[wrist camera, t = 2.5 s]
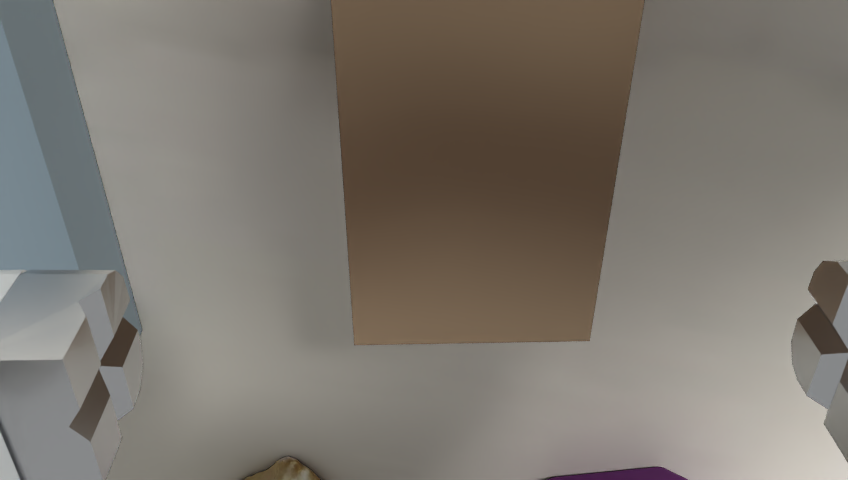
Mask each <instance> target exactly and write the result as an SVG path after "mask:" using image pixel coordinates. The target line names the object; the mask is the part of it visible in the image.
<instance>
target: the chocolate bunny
mask: <svg viewBox="0 0 848 480" xmlns="http://www.w3.org/2000/svg"><path fill="white" fill-rule="evenodd" d="M244 480H321V479H319V478H318V477H317V476H316V475H315V473H314V472H313V471H311V470H310V469H309V468H308V467H306V466H304V465H302V464H301V463H300V462H299V460H297V459H295V458H292V457H289V456H288V457H284V458H282V459H279V460H278V461H277V462H276V463H275V464H274V465H272V466H271V467H270V468H269V469H267V470H265V471H263V472H258V473H256V474H255V475H253V476H249V477H247V478H245V479H244Z"/></svg>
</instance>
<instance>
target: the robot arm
mask: <svg viewBox="0 0 848 480" xmlns="http://www.w3.org/2000/svg"><path fill="white" fill-rule="evenodd" d="M808 291H809V293H810V295H811V296H812V298H813V300H814V302H815V305H814V306H812V307H811V308H810V309H809V310H808V311H806V312H805V313H804V314H803V315H802V316H801V317H799V318H798V319H797V323H796V326H795V330H794V333H793V337H792V340H791V349H792V365H793V368H794V371H795V374H796V377H797V380H798V382H799V384H800V385H801V387H802V389H803V390H804V392H805V394H806V395H807V396H808V397H810V398H811V399H813V400H814V401H816V402H817V403H819V404H821V405H822V406H824V407H825V408H827V409H828V411H827V414H826V418H825V421H824V425H825V427H826V428H827V430H828V432H829V433H830V435H831V436H832V438H833V440H834V441H835V443H836V444H837V446H838V448H839V449H840V451H841V452H842V454H843V456H844V457H845V459H846V461H847V462H848V260H839V261H823V262H822V263H821V264H820V265H819V266H818V268H817V269H816V270H815V271H814V273H813V276H812V279H811V282H810V284H809V287H808ZM129 302H130V297H129V294H128V291H127V287H126V284H125V280H124V277H123V276H122V275H121V274H120V273H118V272H117V271H116V270H28V271H27V270H0V480H106V479H107V476H108V473H109V471H110V468H111V466H112V463H113V461H114V458H115V455H116V453H117V450H118V448H119V445H120V443H121V440H122V435H121V431H120V428H119V424H118V420H119V419H121V418H122V417H123V416H124V415H126V414H127V413H128V412H130V411H131V410H132V409H133V408H134V406H135V403H136V400H137V397H138V395H139V392H140V388H141V380H142V372H143V355H142V345H141V341H140V337H139V332H138V330H137V329H136V328H135V327H134V326H133V325H132V324H130V323H129V322H128V321H127V320H126V319H125V318H124V317H123V315H124V313H125V311H126V308H127V306H128V304H129Z"/></svg>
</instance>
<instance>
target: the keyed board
mask: <svg viewBox="0 0 848 480" xmlns="http://www.w3.org/2000/svg"><path fill="white" fill-rule="evenodd" d="M0 270H27V271H28V270H116V271H117V272H118V273H120V274H121V275H122V276H123V277H124V280H125V284H126V287H127V291H128V294H129V297H130V302H129V304H128V306H127V308H126V311H125V313H124V315H123V317H124V318H125V319H126V320H127V321H128V322H129V323H130V324H132V325H133V326H134V327H135V328H136V329H137V330H138V332H139V337H140V334H141V332H142V327H141V324H140V320H139V316H138V313H137V309H136V305H135V302H134V298H133V294H132V291H131V287H130V283H129V280H128V276H127V272H126V269H125V265H124V261H123V258H122V254H121V250H120V247H119V243H118V239H117V236H116V232H115V228H114V224H113V221H112V217H111V213H110V210H109V206H108V202H107V199H106V195H105V191H104V188H103V184H102V180H101V177H100V173H99V169H98V166H97V162H96V158H95V155H94V151H93V147H92V144H91V140H90V136H89V133H88V129H87V125H86V121H85V118H84V114H83V110H82V107H81V103H80V99H79V96H78V92H77V88H76V85H75V81H74V77H73V74H72V70H71V66H70V63H69V59H68V55H67V52H66V48H65V44H64V41H63V37H62V33H61V30H60V26H59V22H58V18H57V15H56V11H55V7H54V4H53V0H0Z"/></svg>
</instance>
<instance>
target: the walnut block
mask: <svg viewBox="0 0 848 480" xmlns="http://www.w3.org/2000/svg"><path fill="white" fill-rule="evenodd" d="M644 1H645V0H331V10H332V25H333V39H334V54H335V69H336V83H337V98H338V113H339V127H340V142H341V157H342V172H343V186H344V201H345V216H346V230H347V245H348V260H349V274H350V289H351V304H352V318H353V333H354V345H388V344H445V343H503V342H561V341H590V335H591V329H592V323H593V316H594V310H595V304H596V298H597V292H598V285H599V279H600V273H601V267H602V261H603V255H604V248H605V242H606V236H607V230H608V224H609V217H610V211H611V205H612V199H613V193H614V187H615V180H616V174H617V168H618V162H619V156H620V149H621V143H622V137H623V131H624V125H625V119H626V112H627V106H628V100H629V94H630V88H631V81H632V75H633V69H634V63H635V57H636V51H637V44H638V38H639V32H640V26H641V20H642V14H643V7H644Z"/></svg>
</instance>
